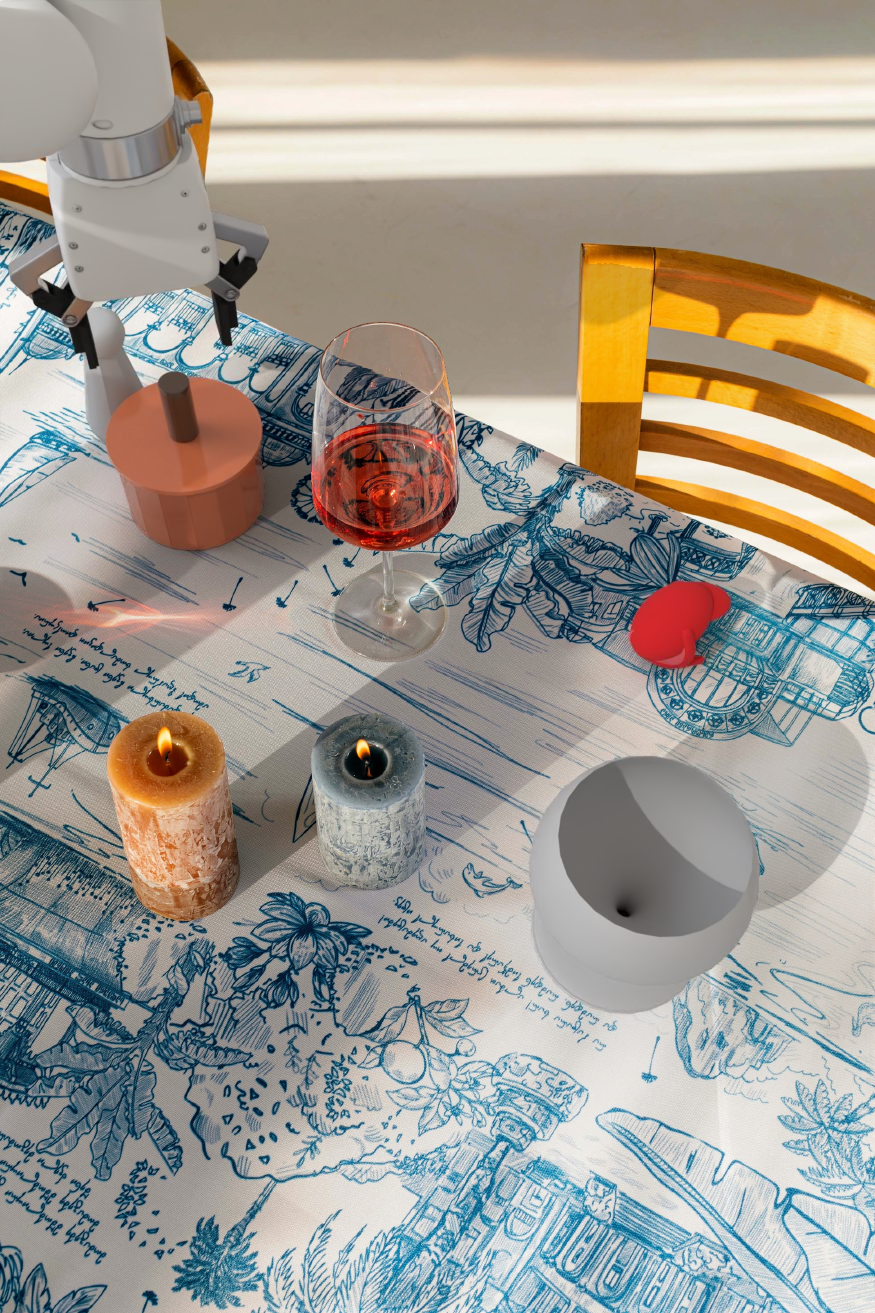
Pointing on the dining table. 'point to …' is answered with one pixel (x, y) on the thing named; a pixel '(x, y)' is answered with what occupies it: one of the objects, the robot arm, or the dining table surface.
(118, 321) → the salt shaker
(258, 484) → the pot
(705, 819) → the chalice
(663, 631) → the cap
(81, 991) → the dining table surface
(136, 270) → the robot arm
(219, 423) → the lid
